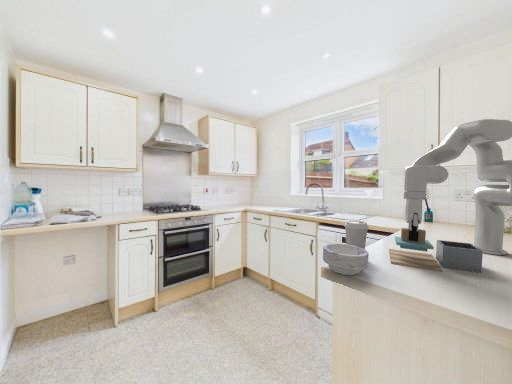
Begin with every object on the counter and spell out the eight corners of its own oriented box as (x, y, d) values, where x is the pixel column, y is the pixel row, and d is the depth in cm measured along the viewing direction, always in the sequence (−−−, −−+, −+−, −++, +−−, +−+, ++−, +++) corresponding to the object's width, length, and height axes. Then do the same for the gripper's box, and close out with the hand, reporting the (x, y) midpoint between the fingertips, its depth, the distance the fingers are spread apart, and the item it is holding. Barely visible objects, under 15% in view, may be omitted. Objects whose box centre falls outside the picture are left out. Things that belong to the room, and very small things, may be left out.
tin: (435, 258, 95) (436, 239, 95) (470, 263, 90) (471, 243, 89) (442, 266, 86) (443, 246, 85) (481, 272, 80) (482, 250, 80)
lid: (394, 241, 102) (395, 225, 101) (427, 245, 96) (428, 228, 96) (396, 248, 91) (397, 230, 91) (433, 253, 85) (434, 233, 85)
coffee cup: (361, 262, 89) (362, 225, 89) (339, 256, 96) (340, 221, 96) (371, 257, 96) (372, 222, 95) (349, 252, 103) (350, 219, 102)
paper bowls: (378, 276, 76) (379, 253, 76) (340, 281, 72) (340, 257, 72) (347, 261, 91) (348, 241, 90) (314, 264, 86) (315, 244, 86)
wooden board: (389, 250, 106) (389, 248, 106) (431, 255, 99) (431, 254, 99) (390, 263, 89) (390, 261, 89) (442, 271, 81) (442, 269, 81)
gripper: (402, 194, 102) (400, 234, 102) (405, 196, 87) (403, 242, 88) (422, 195, 98) (420, 237, 99) (429, 197, 84) (427, 245, 84)
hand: (412, 239), depth 93 cm, fingers closed on lid, 3 cm apart
